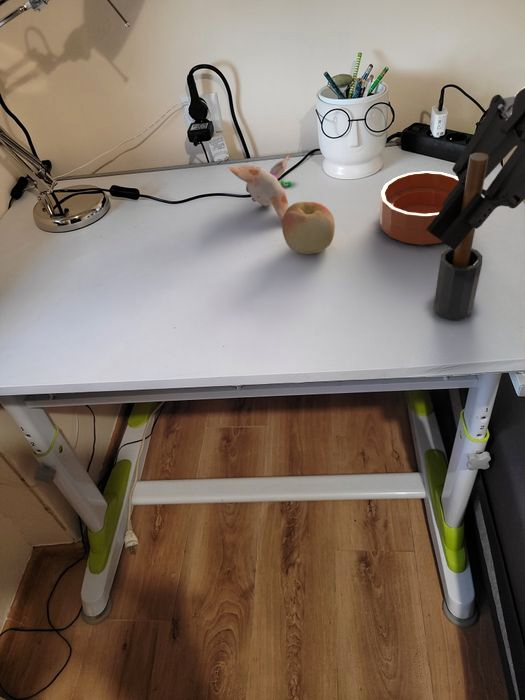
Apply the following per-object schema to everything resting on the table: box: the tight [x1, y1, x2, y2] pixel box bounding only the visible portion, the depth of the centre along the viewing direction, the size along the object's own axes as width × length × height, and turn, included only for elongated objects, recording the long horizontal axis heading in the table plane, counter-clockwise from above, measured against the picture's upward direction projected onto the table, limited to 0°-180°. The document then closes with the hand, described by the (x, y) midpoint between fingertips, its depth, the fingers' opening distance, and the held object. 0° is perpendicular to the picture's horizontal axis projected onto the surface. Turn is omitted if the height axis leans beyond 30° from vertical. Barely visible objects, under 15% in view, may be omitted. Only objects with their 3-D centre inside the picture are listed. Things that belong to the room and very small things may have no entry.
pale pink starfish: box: [228, 154, 293, 221], centre depth 99 cm, size 15×8×15 cm
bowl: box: [379, 170, 458, 246], centre depth 87 cm, size 14×14×6 cm
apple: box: [281, 201, 336, 255], centre depth 86 cm, size 9×9×8 cm
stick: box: [452, 153, 489, 267], centre depth 64 cm, size 2×2×20 cm
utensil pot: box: [433, 247, 483, 322], centre depth 70 cm, size 5×5×9 cm
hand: (440, 239), depth 63 cm, fingers closed on stick, 2 cm apart
